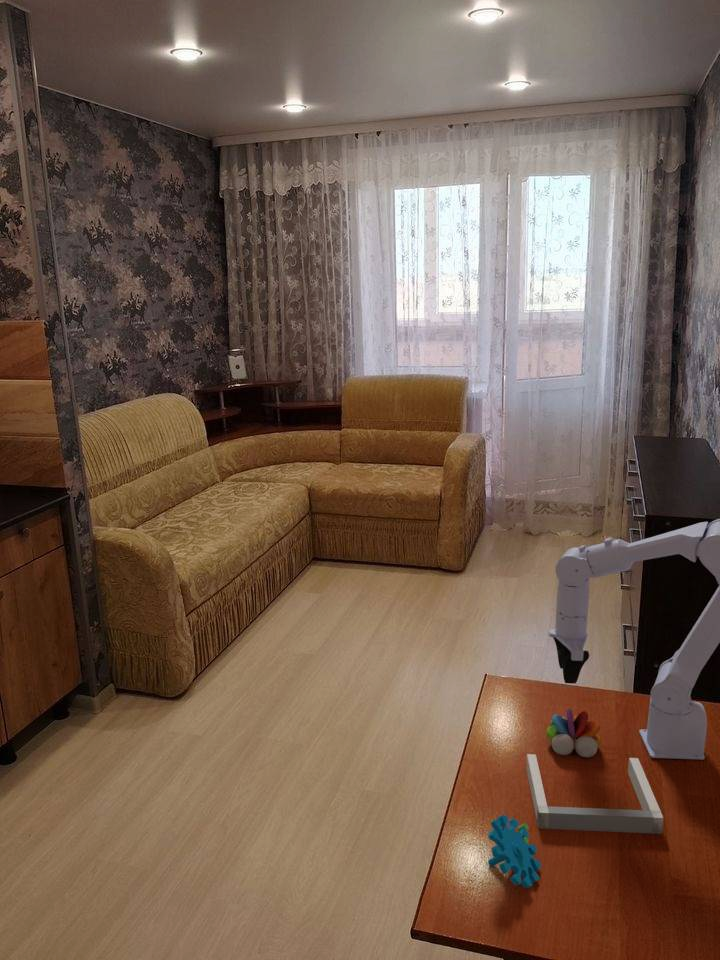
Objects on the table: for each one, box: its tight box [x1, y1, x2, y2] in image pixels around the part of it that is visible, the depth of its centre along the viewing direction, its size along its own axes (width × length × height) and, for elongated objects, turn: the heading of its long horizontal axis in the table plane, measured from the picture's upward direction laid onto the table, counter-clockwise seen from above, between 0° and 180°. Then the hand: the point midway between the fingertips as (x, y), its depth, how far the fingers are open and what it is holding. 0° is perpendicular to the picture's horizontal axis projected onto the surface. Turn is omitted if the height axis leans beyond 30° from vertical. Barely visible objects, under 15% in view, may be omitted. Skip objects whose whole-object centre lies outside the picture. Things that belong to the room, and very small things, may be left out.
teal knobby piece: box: [487, 814, 541, 889], centre depth 111 cm, size 11×6×10 cm
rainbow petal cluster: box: [545, 708, 601, 758], centre depth 137 cm, size 8×10×7 cm
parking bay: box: [525, 753, 664, 835], centre depth 124 cm, size 19×14×3 cm
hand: (567, 675), depth 144 cm, fingers open, 5 cm apart
